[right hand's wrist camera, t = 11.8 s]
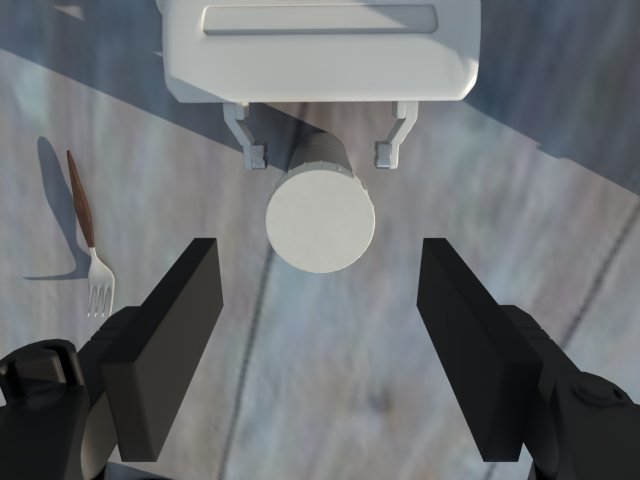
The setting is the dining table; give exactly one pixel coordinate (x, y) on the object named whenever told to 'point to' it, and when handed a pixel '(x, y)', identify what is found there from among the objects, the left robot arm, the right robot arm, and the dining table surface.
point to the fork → (90, 243)
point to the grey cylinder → (319, 151)
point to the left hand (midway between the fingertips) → (320, 167)
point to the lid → (320, 217)
